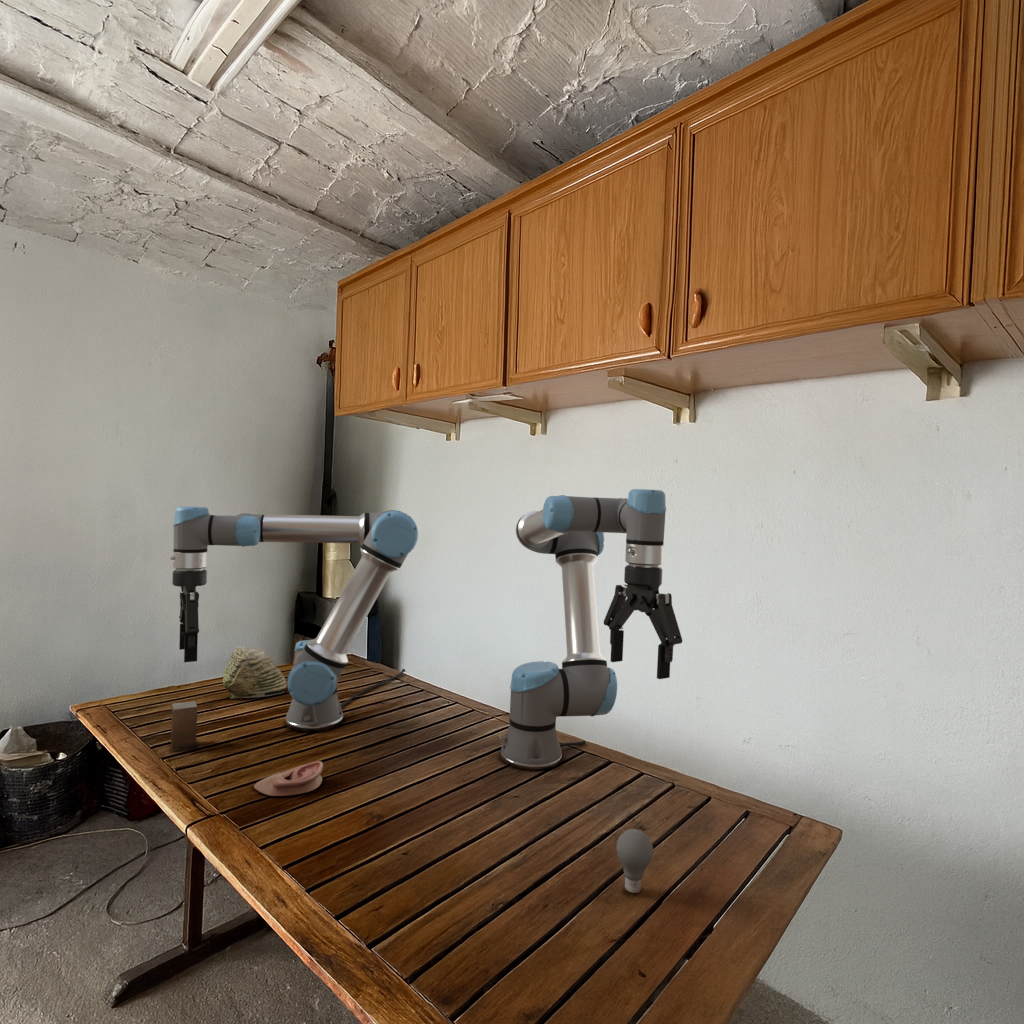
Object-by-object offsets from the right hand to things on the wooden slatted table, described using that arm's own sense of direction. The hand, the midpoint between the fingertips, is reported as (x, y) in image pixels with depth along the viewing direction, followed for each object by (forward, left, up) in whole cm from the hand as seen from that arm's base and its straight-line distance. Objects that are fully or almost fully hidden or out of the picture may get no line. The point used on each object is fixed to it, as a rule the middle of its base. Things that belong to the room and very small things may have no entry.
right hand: (638, 669), depth 129 cm
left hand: (+42, -101, -8) cm, 109 cm away
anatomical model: (+37, -64, -31) cm, 80 cm away
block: (+42, -101, -31) cm, 114 cm away
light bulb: (+22, +11, -31) cm, 39 cm away
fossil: (+9, -125, -31) cm, 129 cm away
